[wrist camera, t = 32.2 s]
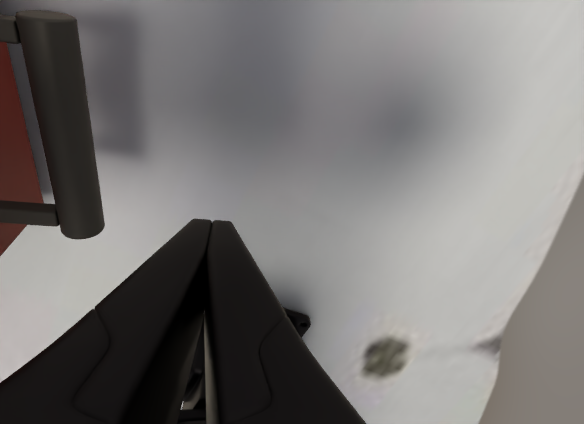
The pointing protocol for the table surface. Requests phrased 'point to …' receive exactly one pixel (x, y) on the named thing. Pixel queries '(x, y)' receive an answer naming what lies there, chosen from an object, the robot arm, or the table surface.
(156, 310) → the robot arm
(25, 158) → the red-fronted drawer
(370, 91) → the table surface
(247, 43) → the table surface
